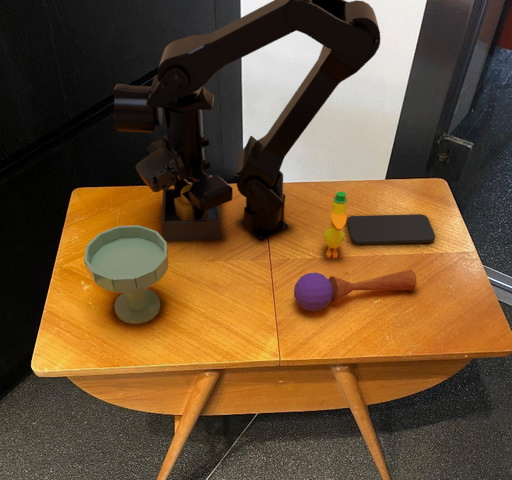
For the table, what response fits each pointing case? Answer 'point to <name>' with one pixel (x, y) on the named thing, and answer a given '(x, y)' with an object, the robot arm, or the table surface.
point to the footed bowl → (129, 269)
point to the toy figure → (336, 224)
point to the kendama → (344, 287)
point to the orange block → (186, 207)
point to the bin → (188, 222)
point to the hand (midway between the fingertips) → (191, 213)
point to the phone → (390, 229)
